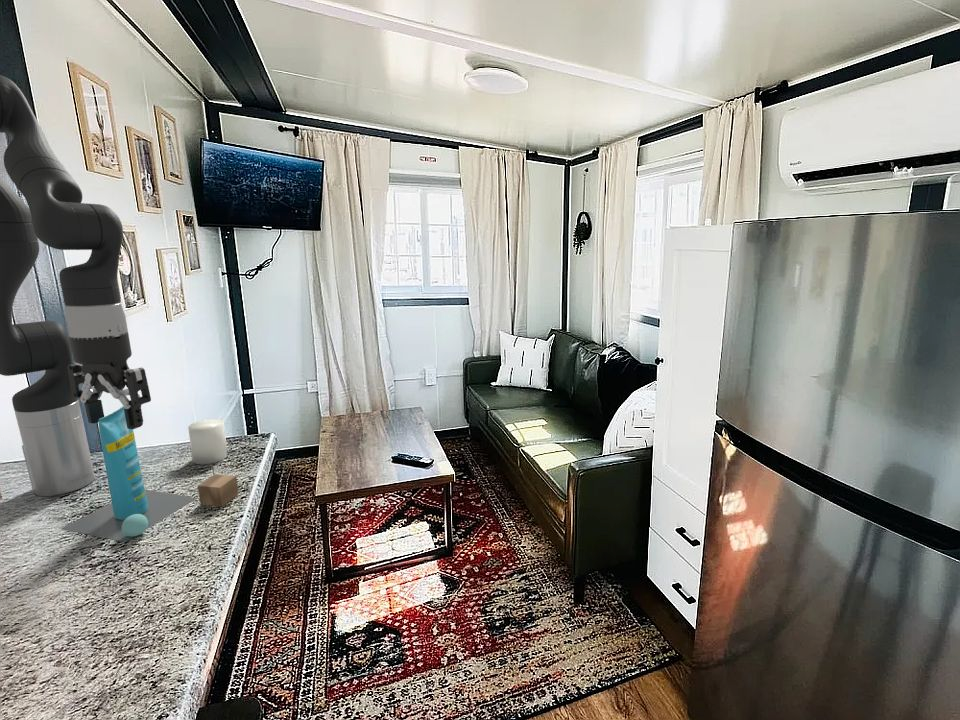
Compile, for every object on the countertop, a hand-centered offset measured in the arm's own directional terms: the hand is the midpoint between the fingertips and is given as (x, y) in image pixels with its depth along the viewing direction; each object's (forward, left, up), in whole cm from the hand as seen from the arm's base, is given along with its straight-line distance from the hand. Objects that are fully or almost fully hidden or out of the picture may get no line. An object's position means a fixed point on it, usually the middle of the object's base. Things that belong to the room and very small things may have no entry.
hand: (116, 424), depth 79 cm
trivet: (0, 0, -17) cm, 17 cm away
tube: (0, 0, -17) cm, 17 cm away
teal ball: (+7, -5, -17) cm, 19 cm away
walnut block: (+9, +8, -15) cm, 19 cm away
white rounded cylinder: (-6, +23, -17) cm, 29 cm away
